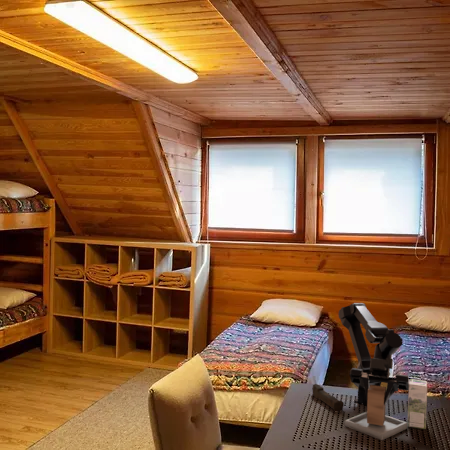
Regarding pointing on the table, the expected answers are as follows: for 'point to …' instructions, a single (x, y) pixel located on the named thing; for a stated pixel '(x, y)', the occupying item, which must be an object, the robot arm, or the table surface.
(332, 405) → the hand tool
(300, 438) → the table surface
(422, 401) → the syrup box
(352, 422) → the tray
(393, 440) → the table surface
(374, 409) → the walnut block
